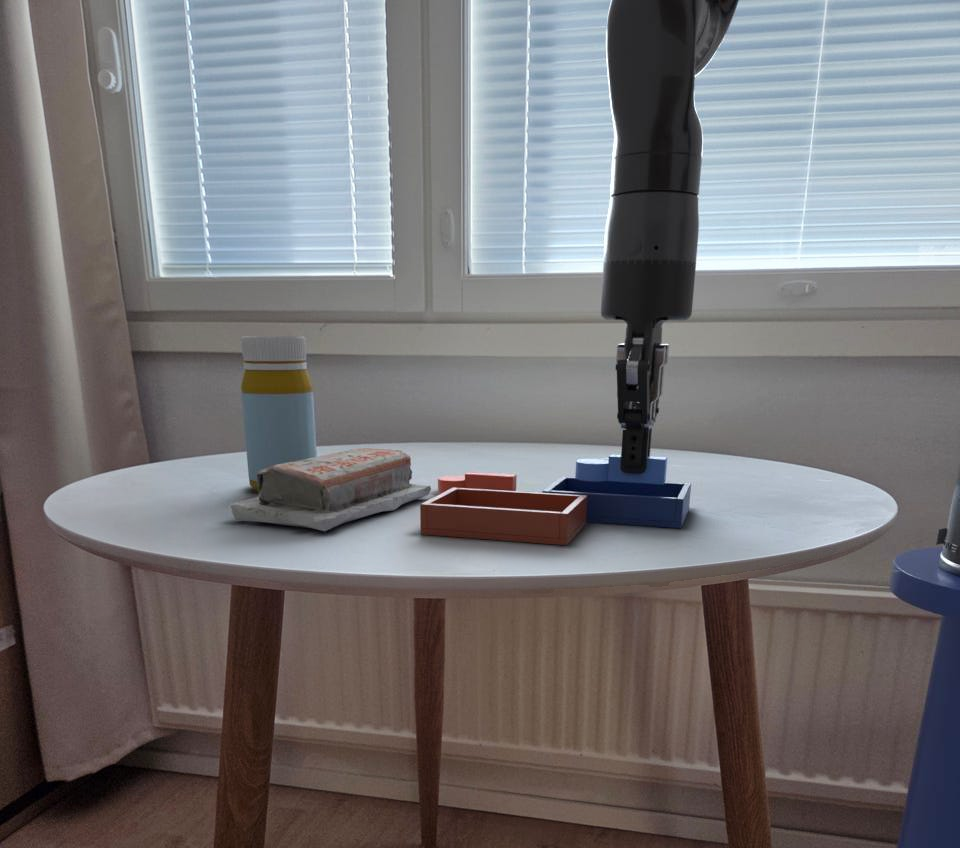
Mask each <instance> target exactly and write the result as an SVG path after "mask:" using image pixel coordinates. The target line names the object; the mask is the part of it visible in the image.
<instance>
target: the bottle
mask: <svg viewBox="0 0 960 848" xmlns="http://www.w3.org/2000/svg"><path fill="white" fill-rule="evenodd" d="M240 340H241V341H240V342H241V350H242V351H241V352H242V359H243V361H244V362H243V370H244V373H243V377H242V381H241V385H240V388H241V389H240V390H241V392H240V393H241V404H242V415H243V427H244V438H245V449H246V460H247V472H248V482H249V486H250V487H251V488H252V489H253V490H254V491H255V492H256V493H259V491H258V485H257V479H256V478H257V474H258V473H259V471H260V470H263V469H265V468H268V467H270V466H274V465H277V464H283V463H288V462H293V461H299V460H304V459H309V458H314V457H318V452H317V438H316V437H317V433H316V420H315V419H316V418H315V417H316V416H315V402H314V401H315V400H314V390H313V389H314V388H313V383H312V381H311V378H310V374H309V373H308V370H307V368H308V367H307V366H308V364H307V357H308V356H307V342H306V340H307V339H306V337H305V336H299V335H298V336H297V335H296V336H295V335H294V336H293V335H274V336H273V335H254V336H253V335H252V336H251V335H250V336H249V335H248V336H247V335H245V336H243V335H242V336H241V339H240Z"/></svg>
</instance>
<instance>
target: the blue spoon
mask: <svg viewBox="0 0 960 848" xmlns="http://www.w3.org/2000/svg"><path fill="white" fill-rule="evenodd" d="M620 466H621V454H610V455H609V456H608V459H604V458H580V459H576V461H575V473H574V477H575V478H576V479H577V480H581V481H588V482H604V481H613V482H629V483H644V484H660V485H664V483H665V482H667V481H666V479H667V467H668V457H666V456H665V457H664V456H651V455H650V456H647V468H646V470H645V472H644V473H642V474H633V473H624V472H622V471H621V468H620Z"/></svg>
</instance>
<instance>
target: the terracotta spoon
mask: <svg viewBox="0 0 960 848" xmlns="http://www.w3.org/2000/svg"><path fill="white" fill-rule="evenodd" d="M451 488H470V489H487V490H504V491H517V474H515V473H496V472H479V471H468V472H466V473H464V475H444V476H440V477H438V478H437V495H439V494H441V493H443V492H445V491H447V490H449V489H451Z"/></svg>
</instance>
